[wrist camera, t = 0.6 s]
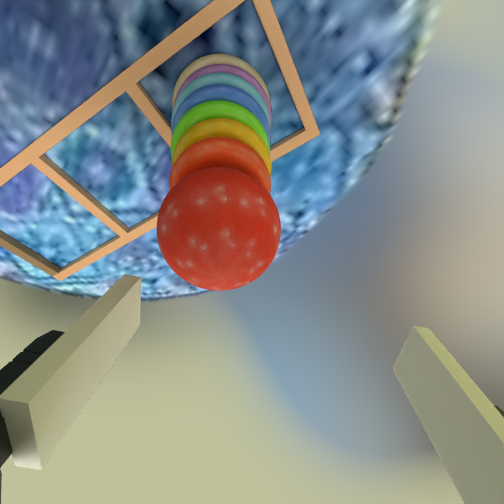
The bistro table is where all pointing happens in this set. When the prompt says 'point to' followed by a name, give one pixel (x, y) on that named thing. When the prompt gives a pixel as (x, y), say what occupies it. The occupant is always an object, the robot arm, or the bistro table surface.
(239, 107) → the stacking toy
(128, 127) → the bistro table surface
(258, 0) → the ladder
